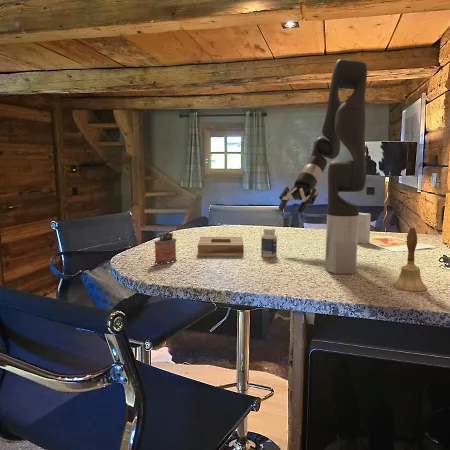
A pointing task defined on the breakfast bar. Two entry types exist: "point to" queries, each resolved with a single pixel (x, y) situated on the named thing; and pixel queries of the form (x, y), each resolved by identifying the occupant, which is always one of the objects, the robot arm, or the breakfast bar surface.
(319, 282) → the breakfast bar surface
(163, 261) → the lighter
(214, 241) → the socket block
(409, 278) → the hand bell
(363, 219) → the skincare box
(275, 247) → the pill bottle
